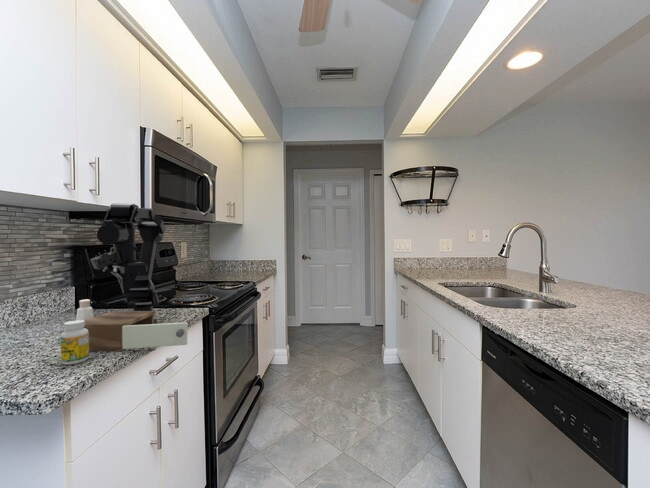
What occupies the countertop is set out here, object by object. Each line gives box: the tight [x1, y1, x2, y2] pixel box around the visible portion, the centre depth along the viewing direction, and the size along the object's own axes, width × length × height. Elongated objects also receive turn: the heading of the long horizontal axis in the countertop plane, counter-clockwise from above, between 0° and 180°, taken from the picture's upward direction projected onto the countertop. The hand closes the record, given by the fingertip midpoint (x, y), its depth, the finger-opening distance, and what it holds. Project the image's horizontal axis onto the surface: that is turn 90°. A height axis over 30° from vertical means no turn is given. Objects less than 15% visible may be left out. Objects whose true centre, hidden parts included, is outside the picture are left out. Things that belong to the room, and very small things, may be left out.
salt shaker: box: [75, 298, 95, 320], centre depth 97 cm, size 5×5×11 cm
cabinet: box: [84, 310, 156, 352], centre depth 91 cm, size 16×14×7 cm
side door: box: [122, 321, 188, 350], centre depth 84 cm, size 16×2×6 cm, turn 100°
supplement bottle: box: [59, 319, 90, 366], centre depth 76 cm, size 5×5×10 cm
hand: (125, 293), depth 97 cm, fingers closed
